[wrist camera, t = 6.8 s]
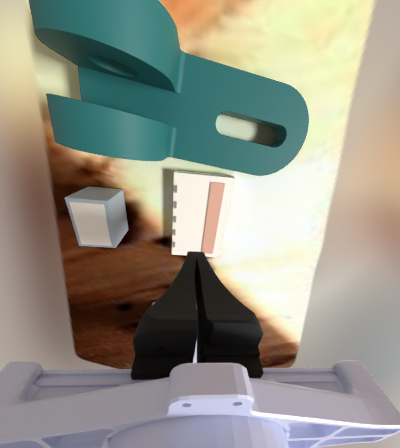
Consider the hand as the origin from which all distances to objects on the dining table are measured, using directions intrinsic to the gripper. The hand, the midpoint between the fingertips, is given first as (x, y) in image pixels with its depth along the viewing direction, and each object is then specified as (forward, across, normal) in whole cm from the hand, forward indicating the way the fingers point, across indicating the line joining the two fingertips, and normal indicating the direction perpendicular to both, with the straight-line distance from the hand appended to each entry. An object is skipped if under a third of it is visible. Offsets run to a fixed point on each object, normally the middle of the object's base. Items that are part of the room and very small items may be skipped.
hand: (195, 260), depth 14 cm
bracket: (+7, 0, -11) cm, 13 cm away
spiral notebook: (+7, 0, -1) cm, 7 cm away
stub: (+7, +10, -1) cm, 12 cm away
